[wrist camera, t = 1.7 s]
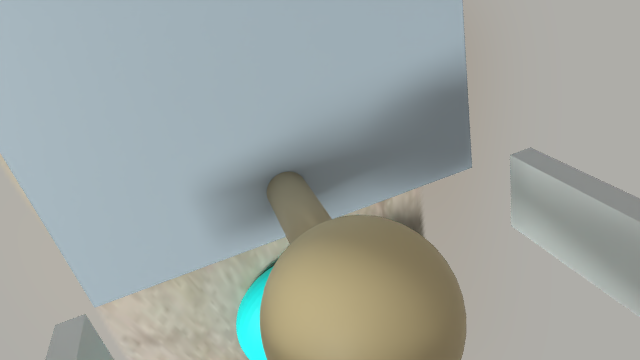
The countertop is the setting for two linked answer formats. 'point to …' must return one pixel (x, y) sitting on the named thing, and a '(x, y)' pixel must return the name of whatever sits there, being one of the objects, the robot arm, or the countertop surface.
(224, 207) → the flap
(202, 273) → the countertop surface
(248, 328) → the donuts
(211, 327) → the countertop surface
